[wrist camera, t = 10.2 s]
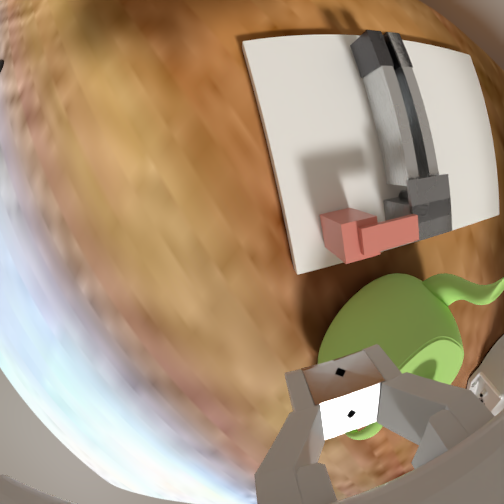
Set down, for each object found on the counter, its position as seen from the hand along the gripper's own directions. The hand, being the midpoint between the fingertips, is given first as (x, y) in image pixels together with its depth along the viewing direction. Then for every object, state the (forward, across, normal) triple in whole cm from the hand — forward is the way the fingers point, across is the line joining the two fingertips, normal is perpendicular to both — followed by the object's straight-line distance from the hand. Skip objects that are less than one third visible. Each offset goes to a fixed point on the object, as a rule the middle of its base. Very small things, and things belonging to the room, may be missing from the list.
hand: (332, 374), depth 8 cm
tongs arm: (+17, -15, -10) cm, 25 cm away
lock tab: (+17, -8, 0) cm, 19 cm away
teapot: (+19, -11, +13) cm, 25 cm away
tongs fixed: (+17, -14, -8) cm, 23 cm away
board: (+18, -17, -7) cm, 26 cm away
